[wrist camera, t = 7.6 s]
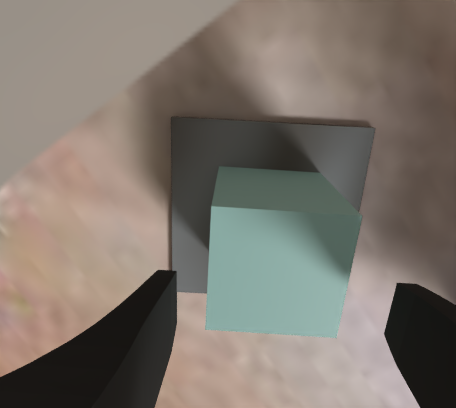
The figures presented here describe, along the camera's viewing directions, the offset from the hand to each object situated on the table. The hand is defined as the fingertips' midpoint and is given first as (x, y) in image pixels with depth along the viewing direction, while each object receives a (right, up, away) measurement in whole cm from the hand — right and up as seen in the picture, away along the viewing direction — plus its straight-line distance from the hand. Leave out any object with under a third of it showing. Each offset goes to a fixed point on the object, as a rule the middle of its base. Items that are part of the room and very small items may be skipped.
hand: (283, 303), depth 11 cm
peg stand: (0, +3, +7) cm, 8 cm away
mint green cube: (0, +3, +7) cm, 8 cm away
